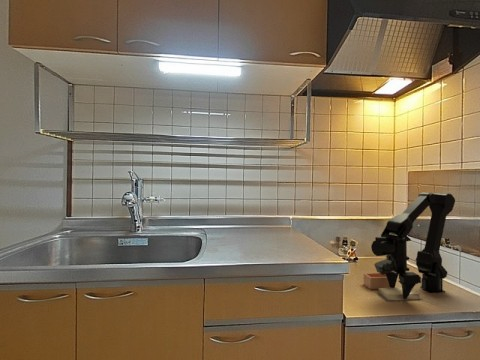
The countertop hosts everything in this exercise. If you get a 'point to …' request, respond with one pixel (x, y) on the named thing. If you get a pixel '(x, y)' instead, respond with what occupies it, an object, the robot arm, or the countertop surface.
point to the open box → (375, 281)
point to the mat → (396, 300)
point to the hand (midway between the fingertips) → (398, 294)
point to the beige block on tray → (397, 294)
